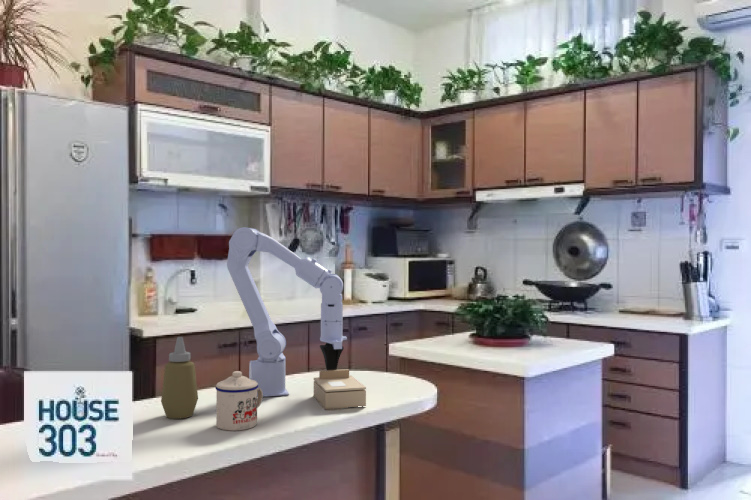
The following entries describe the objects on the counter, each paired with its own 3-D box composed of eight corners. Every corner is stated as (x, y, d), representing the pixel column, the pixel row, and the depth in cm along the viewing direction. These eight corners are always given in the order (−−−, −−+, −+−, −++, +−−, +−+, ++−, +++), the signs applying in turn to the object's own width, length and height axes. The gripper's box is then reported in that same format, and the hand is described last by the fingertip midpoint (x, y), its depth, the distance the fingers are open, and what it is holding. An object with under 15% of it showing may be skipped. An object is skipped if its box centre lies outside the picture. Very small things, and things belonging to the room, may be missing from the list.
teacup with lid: (235, 434, 131) (235, 378, 131) (206, 426, 136) (206, 372, 136) (276, 421, 141) (276, 368, 140) (247, 414, 146) (247, 364, 146)
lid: (313, 379, 163) (313, 369, 163) (351, 377, 166) (351, 367, 166) (325, 391, 150) (325, 381, 150) (365, 389, 153) (366, 379, 153)
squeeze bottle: (160, 413, 146) (160, 335, 146) (196, 410, 149) (196, 333, 149) (161, 422, 139) (161, 340, 139) (199, 419, 142) (199, 338, 141)
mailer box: (313, 396, 163) (313, 380, 163) (350, 393, 166) (351, 378, 166) (325, 410, 150) (325, 393, 150) (365, 407, 153) (365, 390, 153)
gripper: (353, 323, 160) (353, 377, 160) (339, 316, 174) (339, 366, 174) (326, 324, 158) (326, 378, 158) (314, 317, 172) (314, 367, 172)
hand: (331, 372), depth 166 cm, fingers closed
